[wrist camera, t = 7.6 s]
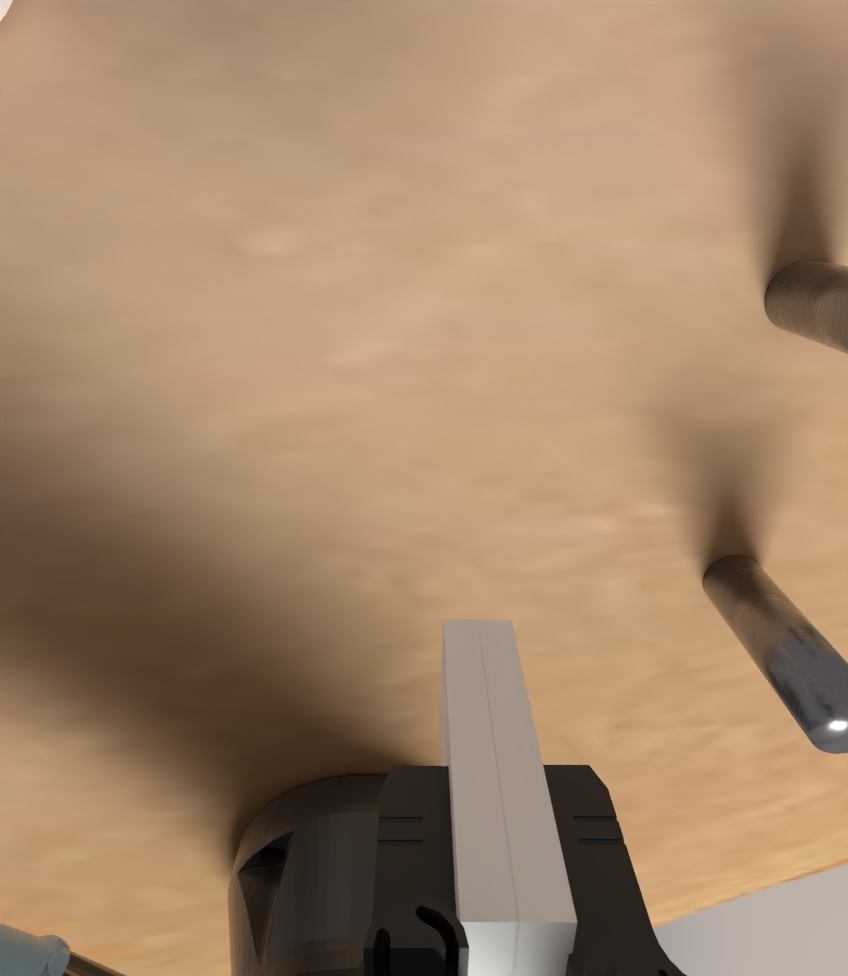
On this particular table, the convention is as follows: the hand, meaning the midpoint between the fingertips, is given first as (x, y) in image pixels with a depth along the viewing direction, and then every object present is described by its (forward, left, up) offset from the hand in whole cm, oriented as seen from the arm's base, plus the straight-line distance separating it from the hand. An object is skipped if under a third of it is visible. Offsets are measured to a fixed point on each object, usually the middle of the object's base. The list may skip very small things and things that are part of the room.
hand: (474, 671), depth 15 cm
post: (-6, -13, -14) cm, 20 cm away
